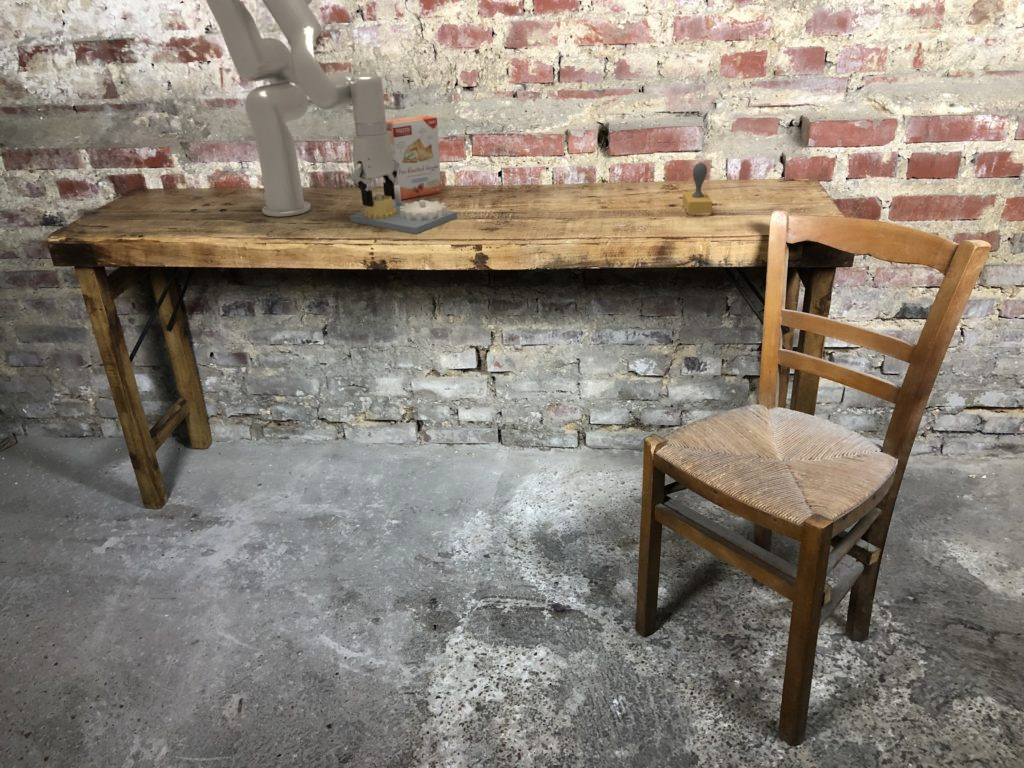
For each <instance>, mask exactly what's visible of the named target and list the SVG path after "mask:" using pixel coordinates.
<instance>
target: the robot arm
mask: <svg viewBox="0 0 1024 768" xmlns="http://www.w3.org/2000/svg"><path fill="white" fill-rule="evenodd" d="M205 1H206V4H207V6H208V7H209V10H210V12H211V13H212V15H213V17H214V19H215V21H216V24H217V25H218V28H219V30H220V33H221V34H222V38H223V41H224V42H225V45H226V48H227V50H228V53H229V56H230V59H231V61H232V64H233V65H234V68H235V70H236V72H237V74H238V75H239V76H240V78H241V79H242V80H244V81H246V82H261V81H266V80H268V82H269V84H266V85H261V86H258V87H255V88H253V89H252V90H251V91H249V92H248V94H247V95H246V98H245V101H244V105H245V107H244V108H245V112H246V115H247V119H248V120H249V123H250V125H251V128H252V132H253V135H254V140H255V144H256V151H257V155H258V156H257V157H258V161H259V166H260V171H261V176H262V182H263V188H264V192H263V194H260V196H259V199H260V201H264V202H265V205H264V206H263V207H262V209H261V210H262V213H263V214H264V215H265V216H268V217H275V218H276V217H290V216H298V215H300V214H305V213H307V212H309V211H310V210H311V209H312V208H311V203H310V202H308V201H305V200H304V193H303V188H302V187H303V186H302V181H301V174H300V169H299V168H300V167H299V162H298V161H299V160H298V154H297V151H296V150H297V149H296V145H295V141H294V137H293V135H292V133H291V131H290V129H289V127H288V126H287V124H286V123H288V122H292V121H295V120H299V119H301V118H303V117H304V116H305V115H306V113H307V112H308V108H309V107H308V106H309V100H310V101H311V102H312V103H313V104H314V105H315V106H316V107H317V108H319V109H321V110H325V111H330V110H334V109H339V108H343V107H348V106H351V105H352V113H353V121H354V131H355V136H354V137H353V143H352V145H353V146H352V158H353V171H352V173H351V175H350V180H351V181H352V182H353V183H354V185H355V186H356V187H357V188H358V191H359V190H360V194H361V203H362V205H363V206H364V207H367V206H369V207H372V206H373V196H374V195H373V191H372V189H371V186H372V181H373V180H375V179H379V178H383V180H384V182H382V183H383V185H382V187H383V195H386V196H392V200H395V191H394V183H395V178H396V176H397V172H398V169H399V166H400V165H399V163H398V162H396V161H395V160H394V158H393V152H392V146H391V142H390V138H389V135H388V133H387V125H388V124H387V122H386V120H387V118H386V110H385V100H384V89H383V88H384V87H383V81H382V78H381V76H380V75H378V74H375V73H362V74H357V73H353V72H348V71H346V72H345V71H344V72H343V71H341V72H336V73H331V74H326V72H325V71H324V70H323V69H324V68H322V66H321V64H320V63H319V60H318V59H317V57H316V54H315V46H314V45H315V41H316V40H317V39H318V38H319V36H320V35H321V32H322V26H321V24H320V22H319V20H318V19H317V18H316V16H315V14H314V13H313V11H312V9H311V8H310V6H309V5H310V4H311V3H312V2H313V0H261V1H262V2H263V4H264V5H265V7H266V9H267V10H268V11H269V14H270V15H271V16H272V18H273V19H274V21H275V22H276V25H277V26H278V27H279V29H280V30H281V32H282V34H283V35H284V37H285V39H286V40H287V41H288V44H289V46H290V49H289V48H288V47H287V45H286V44H285V43H284V42H282V41H281V40H280V39H278V38H273V37H264V38H263V37H262V36H261V33H260V32H259V30H258V27H257V24H256V21H255V18H254V17H253V15H252V14H251V12H250V11H249V9H248V8H247V7H246V6H245V5H244V4H243V3H242V2H241V0H205ZM308 99H309V100H308Z"/></svg>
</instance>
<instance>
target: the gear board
mask: <svg viewBox="0 0 1024 768" xmlns="http://www.w3.org/2000/svg"><path fill="white" fill-rule="evenodd" d="M394 191H395V199H394V200H395V201H394V200H392V203H393V208H395V209H396V212H397V213H396V215H394V216H392V217H390V216H389V217H388V218H385V217H383V218H377V219H373V218H368V217H366V216H365V211H366V210H363V211H360V212H357V213H354V214H350V215H349V221H350V222H352V223H357V224H361V225H366V226H372V227H376V228H381V227H382V229H386V230H393V231H398V232H404V233H407V234H408V233H409V234H412V235H417V234H419V233H422V232H425V231H427V230H429V229H432V228H435V227H437V226H440V225H443V224H445V223H448V222H450V221H452V220H455V219H457V218H458V212H457V211H452V210H447V206H446V204H445V203H444V202H441V203H440V201H438V200H436V201H435V200H434V201H429V200H426V199H419V201H413V202H411V203H405V202H402V200H401V194H400V186H399V185H395V186H394ZM382 195H383V194H382V193H376V194H375V196H376V200H382Z"/></svg>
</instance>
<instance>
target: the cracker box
mask: <svg viewBox="0 0 1024 768" xmlns="http://www.w3.org/2000/svg"><path fill="white" fill-rule="evenodd" d="M386 122H387V124H388V125H387V133H388V135H389V138H390V142H391V146H392V152H393V158H394V160H395V161H396V162H398V163H399V165H400V166H399V169H398V172H397V176H396V178H395V183H394V186H395V185H399V186H400V194H401V201H402V200H407V199H413V198H417V197H418V196H419V197H424V196H429V195H434V194H440V193H442V183H441V182H442V181H441V180H442V179H441V167H440V166H441V164H440V150H439V147H440V146H439V133H438V132H439V131H438V130H439V129H438V118H437V117H436V116H433V115H428V114H425V115H418V116H417V115H416V116H409V117H400V118H391V119H386Z"/></svg>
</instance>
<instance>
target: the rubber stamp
mask: <svg viewBox="0 0 1024 768" xmlns="http://www.w3.org/2000/svg"><path fill="white" fill-rule="evenodd" d="M707 175H708V167H707V165H706V164H705V163H703V162H697V163H696V164H695V165H694V167H693V169H692V177H693V181H694V184H695V191H684V192H683V193H682V203H683V205H684V207H685V209H686V211H687V213H689V214H691V213H692V214H693V213H711V214H712V209H713V201H712V199H711V198H710V197H709V195H708V194H707V193H706V191H702V186H703V183H704V182H705V179H706V177H707ZM683 205H682V206H683ZM684 207H683V208H684ZM685 209H684V210H685ZM686 211H685V212H686ZM687 213H686V214H687Z"/></svg>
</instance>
